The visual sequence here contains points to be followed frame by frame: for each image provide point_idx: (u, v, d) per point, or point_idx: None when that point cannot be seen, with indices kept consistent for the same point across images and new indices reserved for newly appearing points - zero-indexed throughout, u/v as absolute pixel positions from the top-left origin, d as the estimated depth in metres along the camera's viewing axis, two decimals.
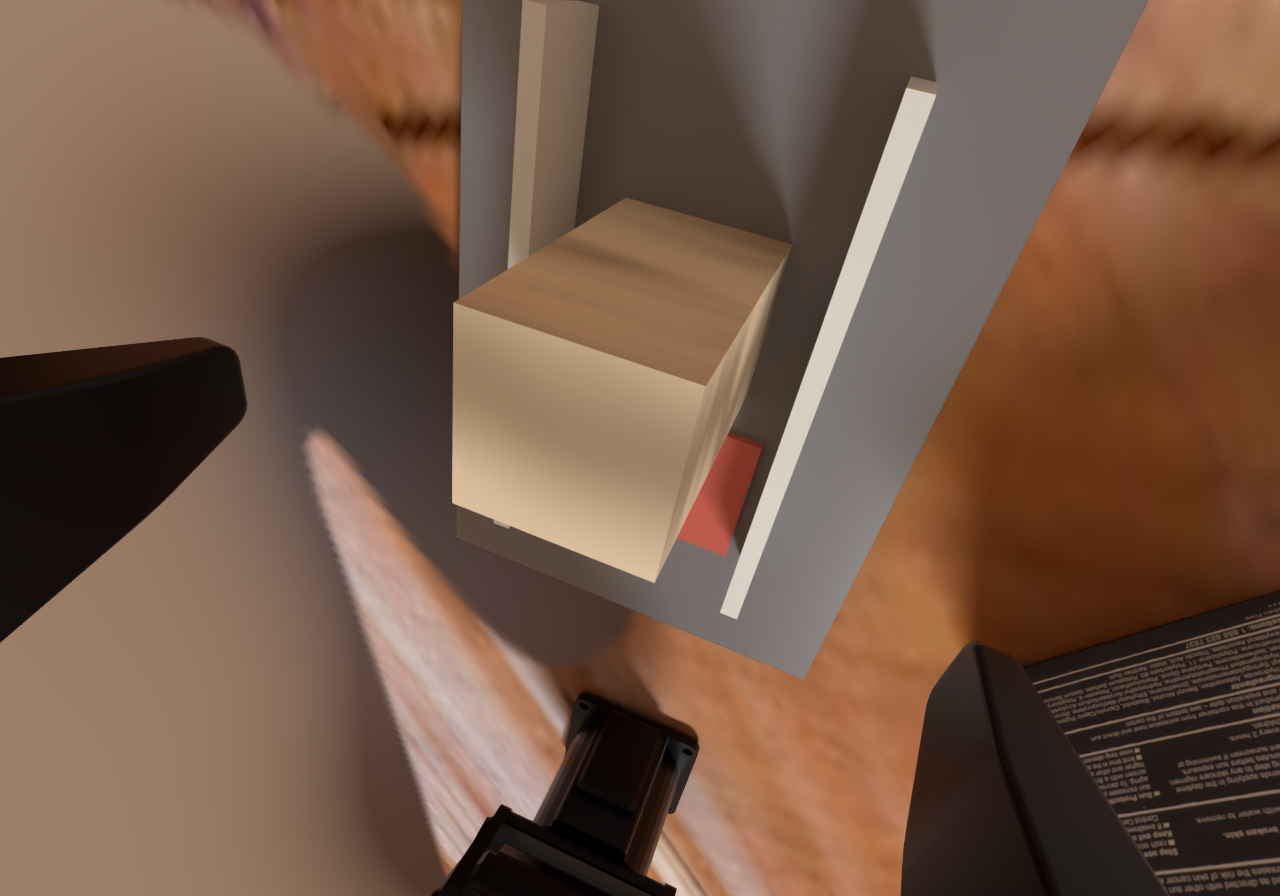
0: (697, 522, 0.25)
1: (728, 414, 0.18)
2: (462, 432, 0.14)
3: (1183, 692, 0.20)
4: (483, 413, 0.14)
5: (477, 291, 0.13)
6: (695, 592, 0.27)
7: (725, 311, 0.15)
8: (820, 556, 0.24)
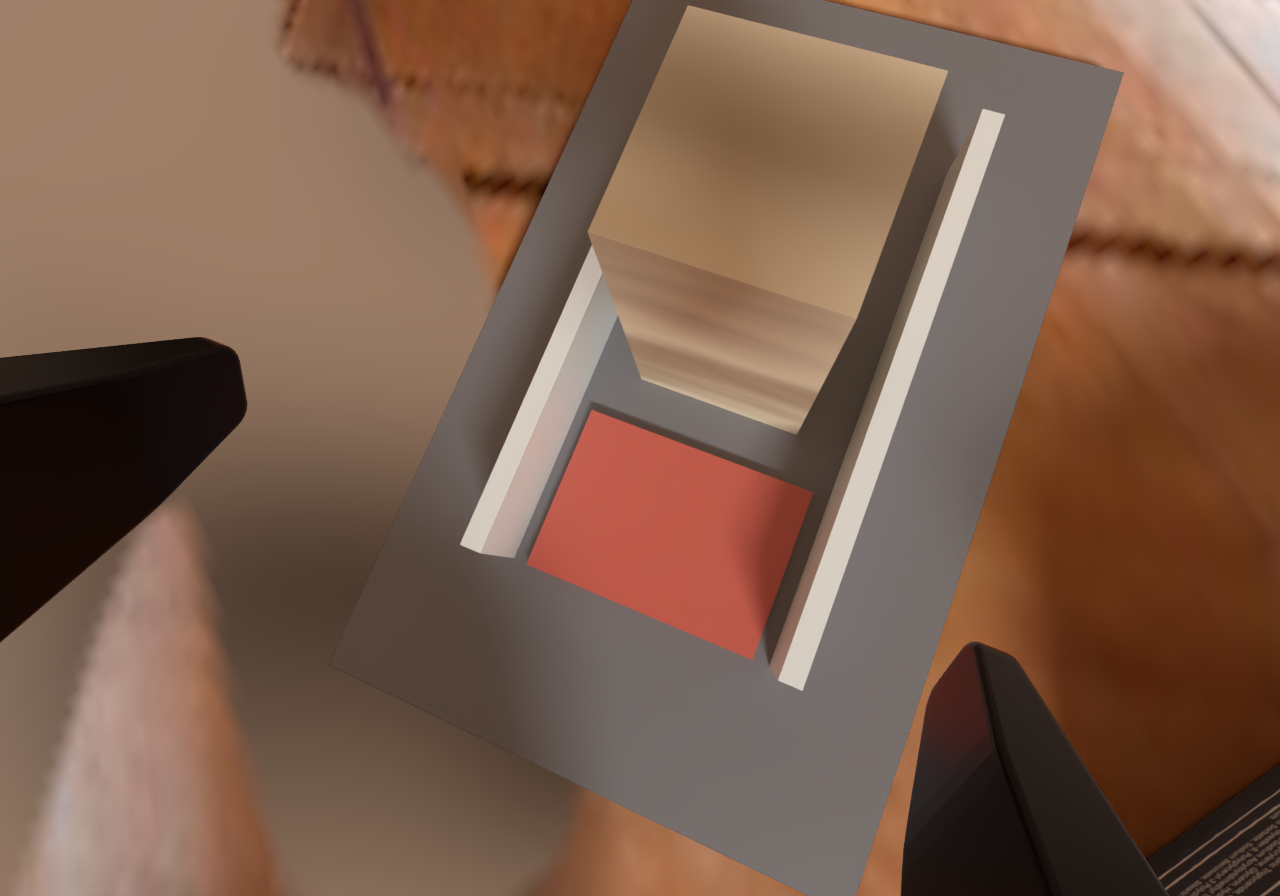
0: (720, 604, 0.19)
1: None
2: (643, 136, 0.13)
3: None
4: (680, 113, 0.13)
5: None
6: (695, 741, 0.19)
7: None
8: (877, 658, 0.19)
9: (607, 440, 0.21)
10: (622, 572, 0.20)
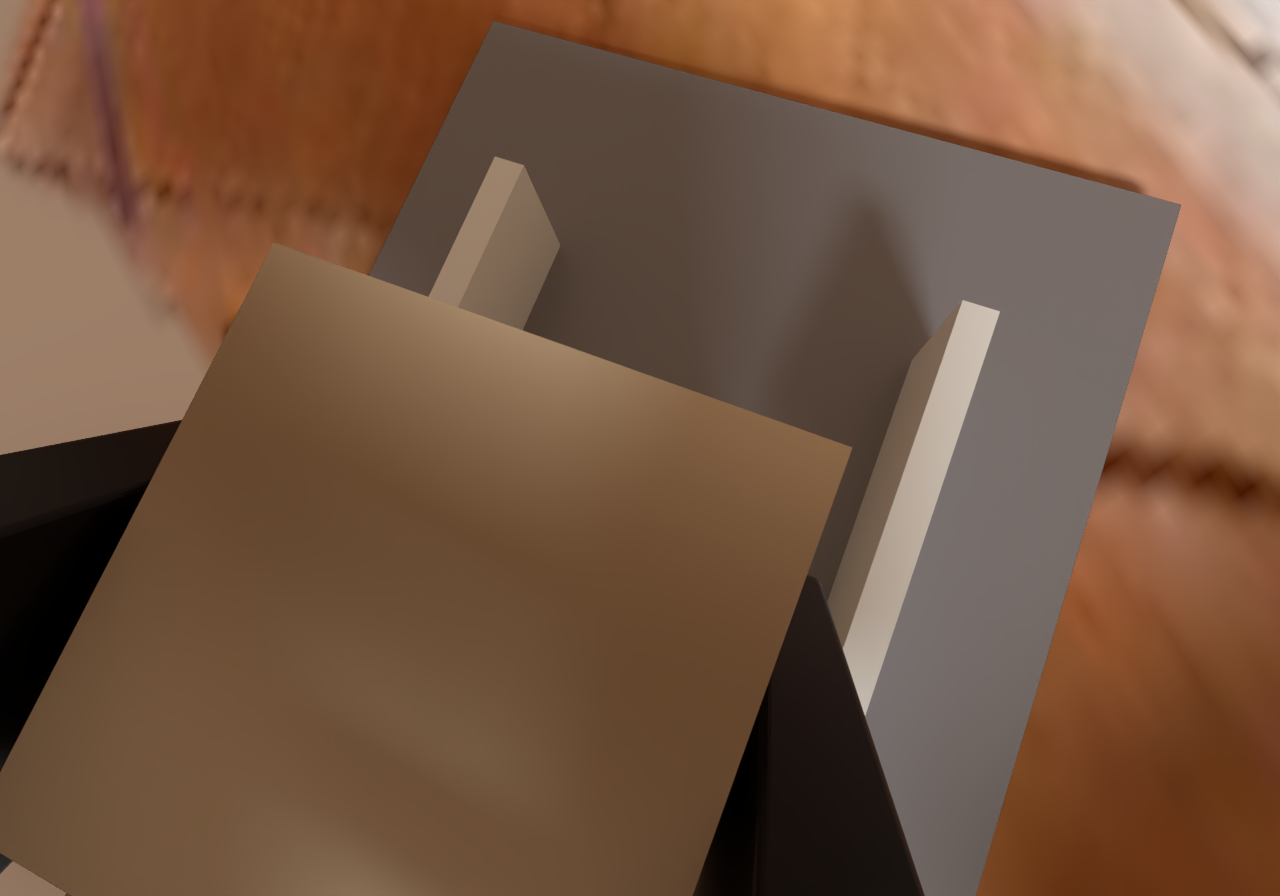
0: None
1: None
2: (130, 577, 0.05)
3: None
4: (220, 519, 0.05)
5: None
6: None
7: None
8: None
9: None
10: None
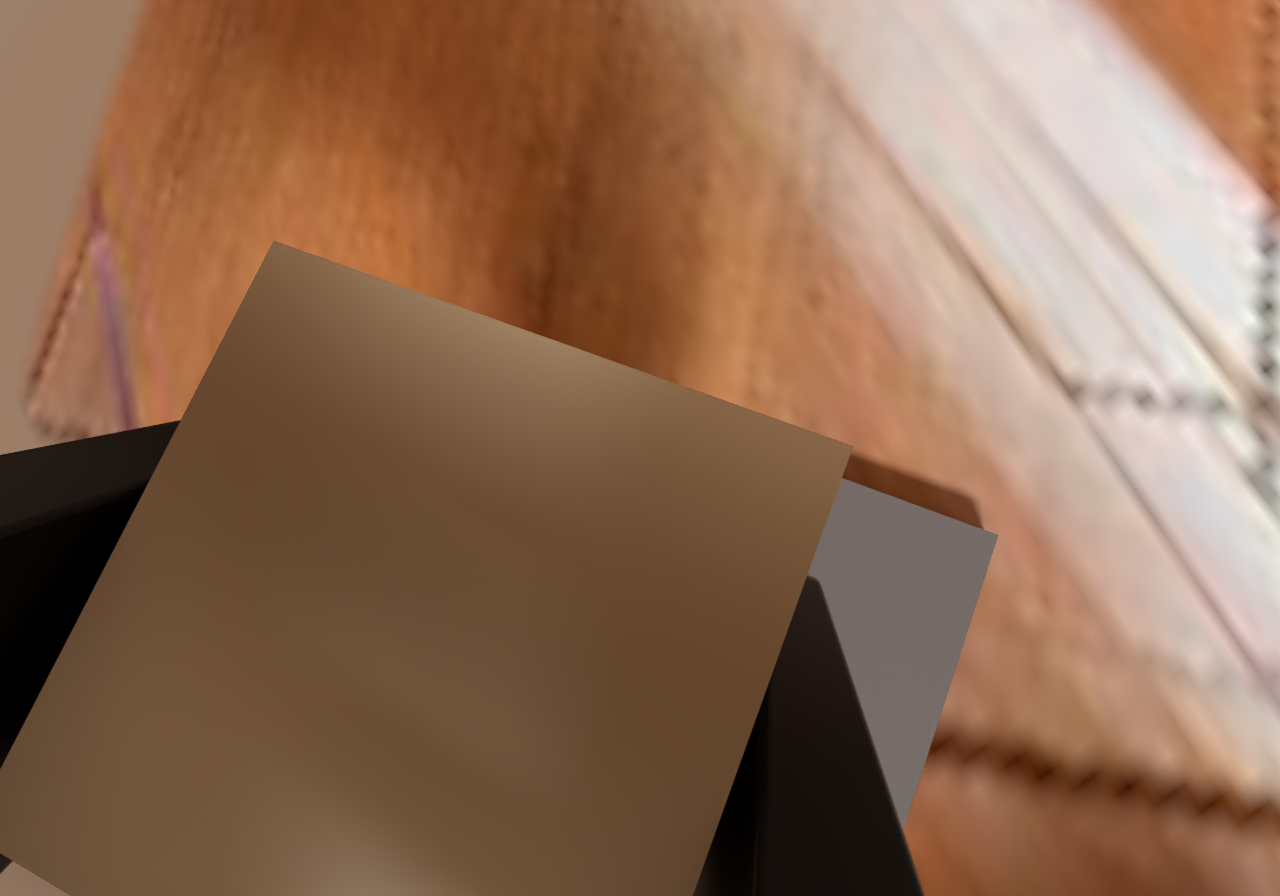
0: None
1: None
2: (130, 576, 0.05)
3: None
4: (220, 518, 0.05)
5: None
6: None
7: None
8: None
9: None
10: None
